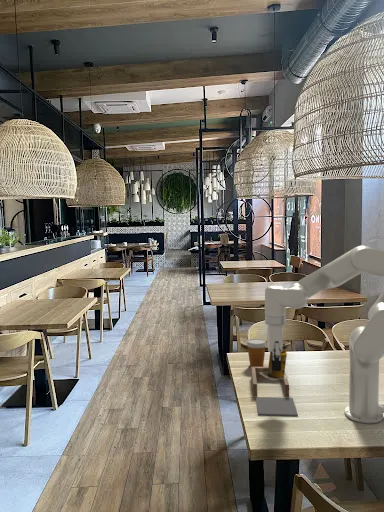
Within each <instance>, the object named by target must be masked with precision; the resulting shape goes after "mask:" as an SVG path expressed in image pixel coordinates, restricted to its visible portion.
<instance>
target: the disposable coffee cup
mask: <svg viewBox="0 0 384 512" xmlns="http://www.w3.org/2000/svg"><path fill="white" fill-rule="evenodd" d="M266 341H267V340H264V339H262V338H249V339H247V341H246V346H247V351H248V352H247V353H248V361H249V366H250V368H251V367H264V362H265V354H266V353H265V352H266V346H267V342H266Z"/></svg>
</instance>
